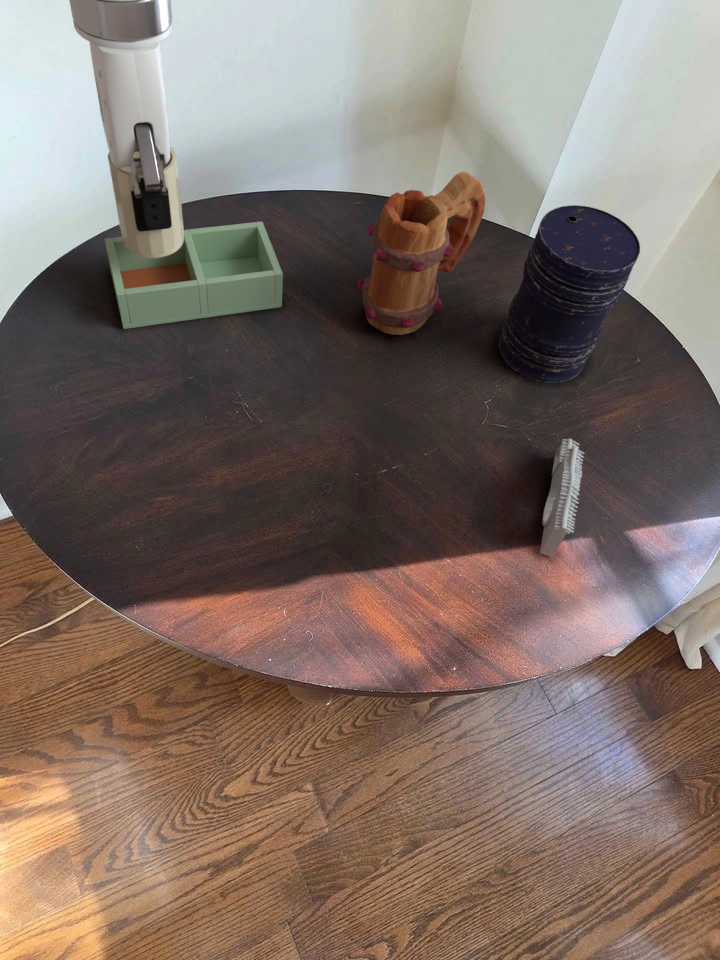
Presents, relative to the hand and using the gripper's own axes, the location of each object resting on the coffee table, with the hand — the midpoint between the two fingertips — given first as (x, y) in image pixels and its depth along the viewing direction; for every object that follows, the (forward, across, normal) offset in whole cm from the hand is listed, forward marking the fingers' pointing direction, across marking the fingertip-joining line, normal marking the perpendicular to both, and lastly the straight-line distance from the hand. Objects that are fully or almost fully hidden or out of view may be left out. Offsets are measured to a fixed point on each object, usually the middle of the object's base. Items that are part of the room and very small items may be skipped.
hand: (148, 204), depth 74 cm
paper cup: (+4, 0, 0) cm, 4 cm away
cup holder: (+11, 0, +4) cm, 12 cm away
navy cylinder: (+12, +17, +38) cm, 43 cm away
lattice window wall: (+11, +36, +30) cm, 48 cm away
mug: (+12, +8, +26) cm, 30 cm away
